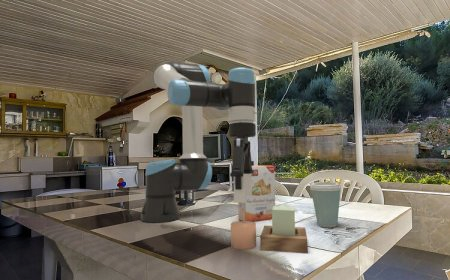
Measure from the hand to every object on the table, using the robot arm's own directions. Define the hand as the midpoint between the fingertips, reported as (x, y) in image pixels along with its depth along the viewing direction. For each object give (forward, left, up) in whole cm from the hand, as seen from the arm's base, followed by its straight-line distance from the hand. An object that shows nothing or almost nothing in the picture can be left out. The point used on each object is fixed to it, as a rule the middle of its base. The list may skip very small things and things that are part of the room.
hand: (243, 198), depth 80 cm
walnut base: (+11, +3, -13) cm, 17 cm away
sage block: (+11, +3, -11) cm, 16 cm away
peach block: (0, 0, -13) cm, 13 cm away
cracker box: (0, +33, -13) cm, 36 cm away
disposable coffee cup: (+25, +28, -13) cm, 40 cm away
